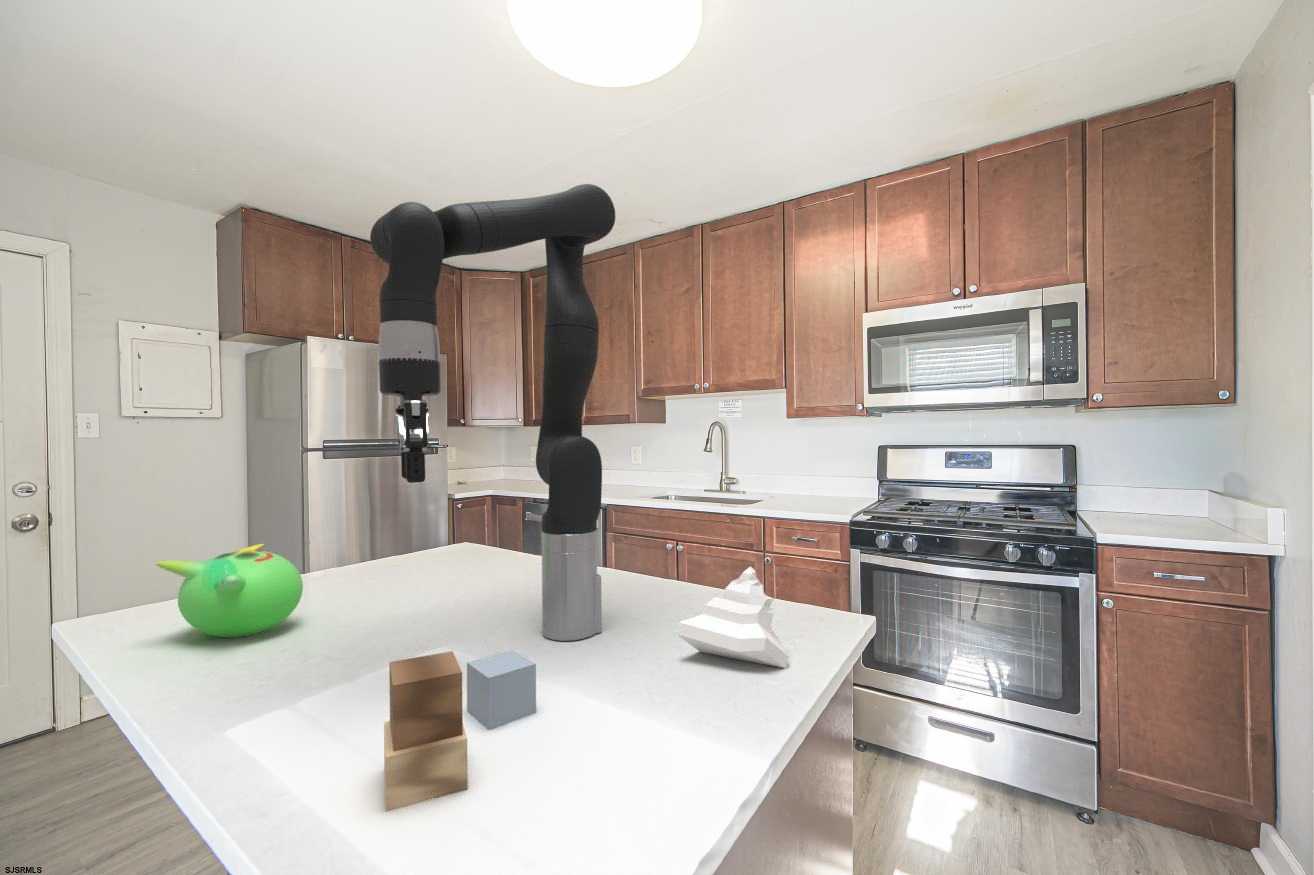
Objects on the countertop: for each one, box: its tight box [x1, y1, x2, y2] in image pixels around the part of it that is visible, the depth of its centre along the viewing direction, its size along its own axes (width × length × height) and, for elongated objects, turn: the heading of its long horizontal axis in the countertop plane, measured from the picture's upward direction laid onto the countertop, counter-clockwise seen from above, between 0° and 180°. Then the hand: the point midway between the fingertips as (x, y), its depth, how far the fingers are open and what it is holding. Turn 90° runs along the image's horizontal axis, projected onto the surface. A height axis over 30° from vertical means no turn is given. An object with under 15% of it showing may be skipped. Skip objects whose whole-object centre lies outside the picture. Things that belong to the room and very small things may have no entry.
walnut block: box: [388, 650, 464, 752], centre depth 56 cm, size 6×6×6 cm
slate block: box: [466, 649, 537, 731], centre depth 69 cm, size 6×6×6 cm
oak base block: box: [383, 720, 469, 812], centre depth 55 cm, size 7×7×5 cm
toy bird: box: [156, 543, 304, 638], centre depth 97 cm, size 18×17×15 cm
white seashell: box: [676, 566, 789, 669], centre depth 86 cm, size 12×15×14 cm
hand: (412, 480), depth 77 cm, fingers open, 8 cm apart
